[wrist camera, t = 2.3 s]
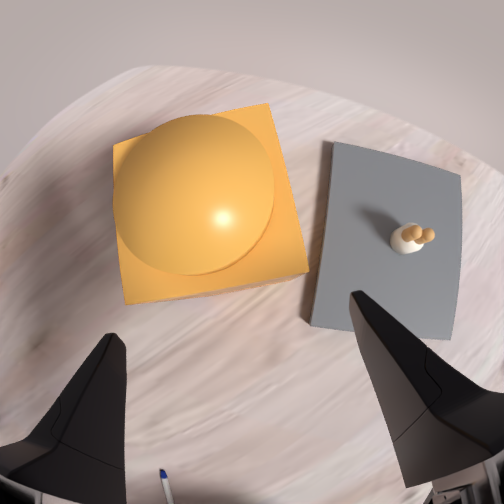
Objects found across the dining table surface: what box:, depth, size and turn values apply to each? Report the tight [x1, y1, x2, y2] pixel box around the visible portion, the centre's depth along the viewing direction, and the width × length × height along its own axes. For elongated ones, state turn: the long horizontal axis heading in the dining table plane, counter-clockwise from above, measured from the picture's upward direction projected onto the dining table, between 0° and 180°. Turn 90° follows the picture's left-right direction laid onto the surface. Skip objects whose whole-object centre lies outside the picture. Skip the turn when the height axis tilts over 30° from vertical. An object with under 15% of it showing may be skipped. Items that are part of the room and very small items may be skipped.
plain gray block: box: [309, 142, 462, 340], centre depth 18 cm, size 14×12×5 cm
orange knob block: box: [113, 103, 309, 305], centre depth 15 cm, size 6×6×14 cm
